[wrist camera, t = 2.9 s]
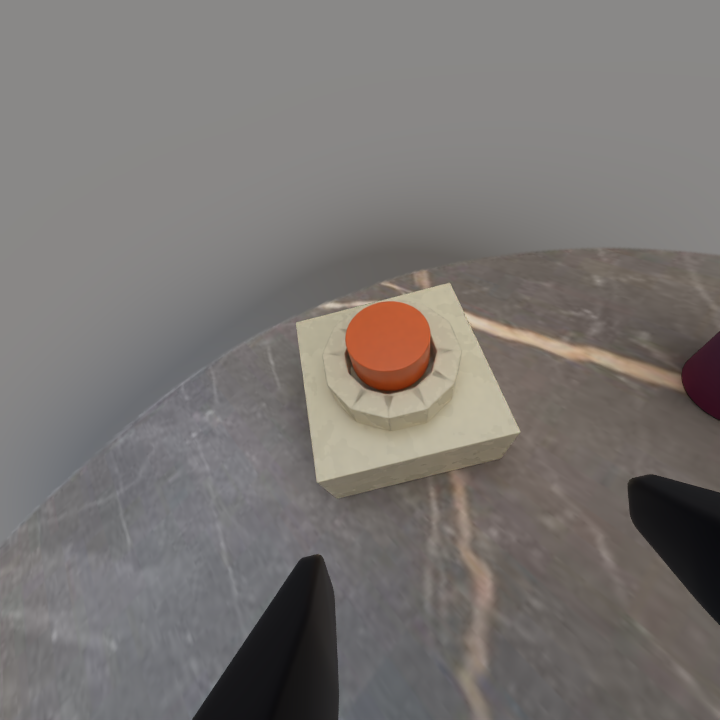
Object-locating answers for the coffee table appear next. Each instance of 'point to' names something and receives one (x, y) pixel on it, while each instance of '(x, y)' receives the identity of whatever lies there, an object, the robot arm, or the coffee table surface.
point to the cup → (704, 377)
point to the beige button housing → (401, 404)
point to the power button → (389, 345)
